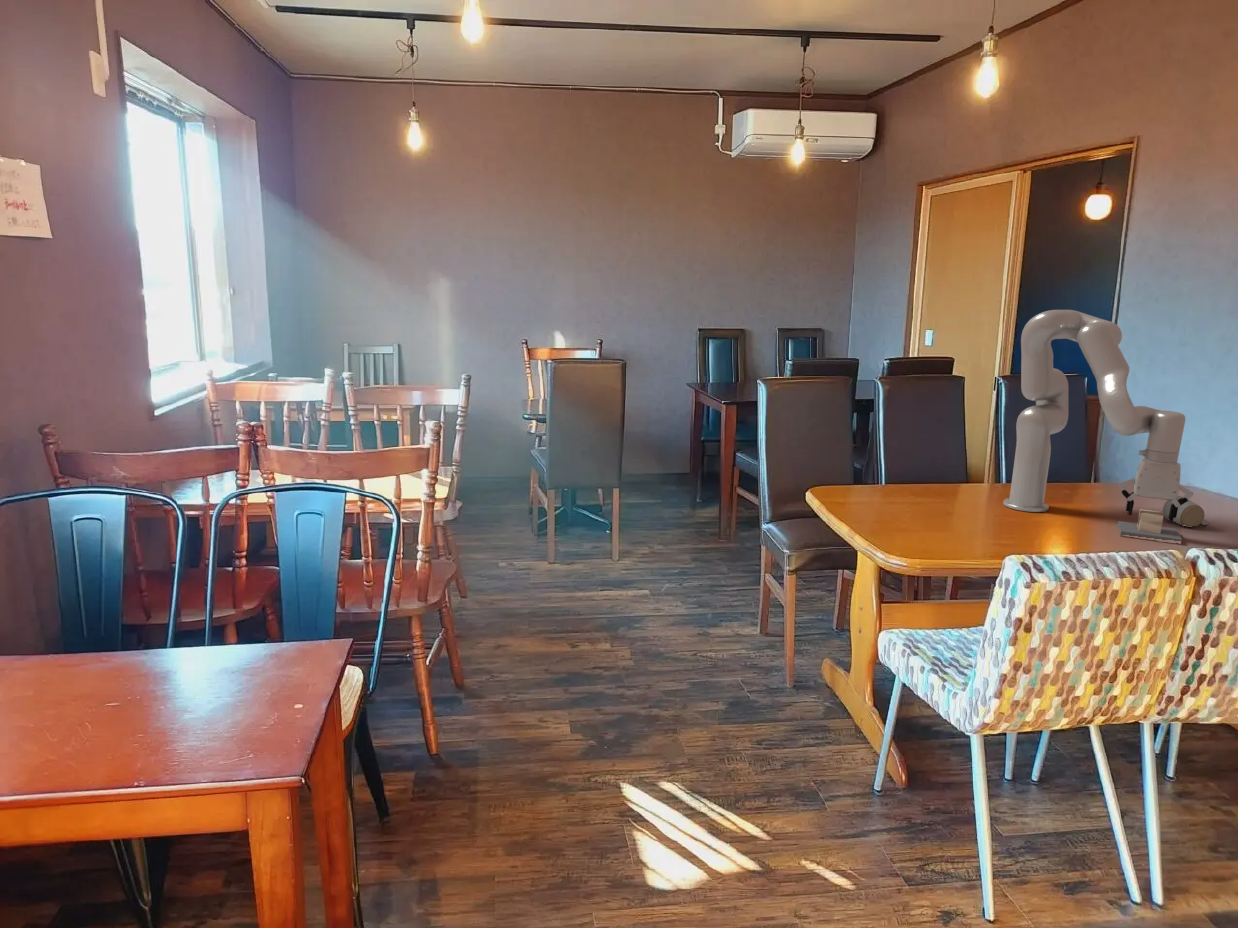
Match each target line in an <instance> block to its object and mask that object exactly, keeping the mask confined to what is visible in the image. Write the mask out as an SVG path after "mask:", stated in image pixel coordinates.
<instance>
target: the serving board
mask: <svg viewBox="0 0 1238 928" xmlns="http://www.w3.org/2000/svg"><path fill="white" fill-rule="evenodd" d="M1137 524H1138V522H1137V523H1135V522H1128V521H1120V520H1118V521H1117V529H1118V528H1119V530H1118V532H1119V531H1120V534H1119V536H1120V535H1129V536H1138V537H1146V538H1154V539H1162V540H1174V541H1183V540H1182V537H1181V535H1180V533H1179V531H1178V529H1177V528H1173V527H1165V526H1162V527H1161V533H1160V534H1158V533H1150V532H1143V531H1139V530H1138V527H1137Z"/></svg>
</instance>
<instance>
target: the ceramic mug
mask: <svg viewBox="0 0 1238 928" xmlns="http://www.w3.org/2000/svg"><path fill="white" fill-rule="evenodd" d="M1182 497H1183V496H1181V495H1178V496H1177V498H1176V499H1177V500H1179V499H1180V498H1182ZM1172 504H1173V503H1172V501H1171V500H1165V502H1164V505H1163V507H1162V514H1163V517H1164V518H1165V519H1166V518H1167V519H1166V520H1168V519H1169V512H1170V507H1171V505H1172ZM1204 518H1205V511H1204V509H1203V508H1202V507H1201V506H1200V505H1199V504H1197V503H1195V502H1193V501H1191V500H1190V499H1189V500H1188V501H1187V502H1186V503H1184V504H1182V505H1181V506H1180V507H1178V511H1177V516H1176V518H1173V521H1174V522H1176V523H1175V524H1177V523H1179V524H1181V525H1186V526H1196V527H1198V526H1199V525H1200V524H1201V525H1202V526H1204V525H1206V524H1209V523H1210V521H1208V520H1206V519H1204ZM1174 522H1173V523H1174ZM1179 524H1178V525H1179ZM1181 525H1180V526H1181ZM1197 525H1198V526H1197Z"/></svg>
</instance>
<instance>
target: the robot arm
mask: <svg viewBox="0 0 1238 928" xmlns="http://www.w3.org/2000/svg"><path fill="white" fill-rule="evenodd" d="M1020 336H1021V337H1020V347H1021V348H1020V349H1021V351H1020V352H1021V364H1020V369H1021V370H1020V371H1021V372H1020V373H1021V375H1020V376H1021V377H1020V379H1021V380H1020V381H1021V382H1020V383H1021V384H1020V388H1021V394H1022V395H1023V397H1024V398H1025V399H1027V400H1029V401H1033V402H1035V405H1032V406H1029V407H1027V408H1025V409H1023V410H1022V411H1021V412H1020V414H1019V415H1018V417H1017V420H1016V424H1015V425H1016V426H1015V427H1016V444H1015V454H1014V461H1013V469H1012V477H1011V483H1010V484H1011V485H1010V492H1009V497H1008V498H1005V499H1003V506H1004V507H1007V508H1009V509H1013V510H1017V511H1021V512H1028V513H1029V512H1030V513H1031V512H1032V513H1042V512H1047V511H1049V507H1050V506H1049V504H1047V503H1046V502H1045V498H1046V497H1045V495H1046V491H1047V489H1046V488H1047V482H1048V481H1047V480H1048V475H1049V468H1050V459H1051V452H1052V451H1051V450H1052V445H1051V435H1055V434H1056V433H1057V434H1058V433H1060V432H1061V431H1062V430H1063V429H1065V427H1066V426H1067V424H1068V420H1069V381H1068V379H1067V377H1066V374H1064V372H1063V371H1062V370H1060V369H1058V368H1054V351H1053V348H1052V341H1053V340H1063V339H1064V340H1065V339H1067V340H1070V341H1073V342H1075V343H1078V344H1077V345H1079V348H1080V349H1081V352H1082V354H1083V356H1084V358H1085V360H1086V362H1087V364H1088V365H1089V368H1090V369H1091V372H1092V374H1093V376H1094V377H1095V380H1096V389H1097V393H1098V394H1097V395H1098V400H1099V404H1100V407H1101V409H1102V411H1103V413H1104V415H1105V417H1106V420H1107V421H1108V423H1109V425H1110V427H1111V428H1112V430H1114V431H1115V432H1116V433H1117V434H1119V435H1121V436H1124V437H1125V436H1126V437H1128V436H1129V437H1130V436H1136V435H1137V434H1139V435H1140V434H1148V438H1147V442H1146V447H1145V448H1144V449H1140V450H1139V452H1138V456H1142V457H1144V458H1141V460H1140V462H1139V464H1138V467H1137V469H1136V474H1135V477H1134V478H1131V479H1128V480H1127V479H1126V480H1124V481H1121V482H1118V487H1119V489H1120V492H1121V494H1122V496H1124V497H1125V499H1126V500H1127V502H1126V505H1125V512H1127V514H1128V516H1131V515H1132V516H1133V509H1134V505H1135V501H1134V500H1135V499H1136V498H1138V497H1140V498H1149V499H1154V500H1155V499H1156V500H1163V501H1167V500H1171V501H1172V503H1173V504H1172V505H1171V507H1170V512H1169V520H1168V521H1170V522H1172V521H1173V518H1176V516H1177V511H1178V507H1180V506H1181V505H1182V504H1184V503H1186V502H1187V501H1188V500H1190V499H1191V498H1192V497H1193V495H1194V492H1193V491H1192V490H1190V489H1188V488H1187V487H1186V486H1184V485H1181V483H1180V482H1181V471H1182V470H1181V464H1180V462H1178V460H1179V455H1180V450H1181V444H1182V440H1183V435H1184V429H1185V425H1186V416H1185V414H1184V413H1182V412H1178V411H1171V410H1162V409H1161V410H1160V409H1155V408H1153V407H1148V406H1143V405H1136V406H1134V404H1133V402H1132V399H1131V397H1130V394H1129V391H1128V387H1127V380H1128V377H1129V373H1130V366H1129V363H1128V362H1127V360H1126V358H1125V356H1124V354H1123V352H1122V350H1121V348H1120V347H1119V345H1120V344H1121V342H1122V340H1123V332H1122V330H1121V328H1120V326H1118V325H1117V324H1116V323H1115V322H1113V321H1110V320H1106V319H1103V318H1099V317H1097V316H1094V315H1090V314H1087V313H1085V312H1081V311H1078V310H1073V309H1050V310H1046V311H1043V312H1040V313H1038V314H1036V315H1034V316H1033V317H1031V318H1030V319H1029V320H1028V321H1027V322H1026V324H1025V325H1024V327H1023V329H1022V331H1021V335H1020ZM1132 485H1133V486H1132ZM1128 486H1132V491H1131V492H1130V493H1129V492H1128V491H1127V489H1126V487H1128ZM1179 492H1182V493H1183V496H1182V498H1180V499H1179V500H1177V499H1176V498H1177V496H1179Z"/></svg>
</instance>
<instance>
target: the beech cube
mask: <svg viewBox="0 0 1238 928" xmlns="http://www.w3.org/2000/svg"><path fill="white" fill-rule="evenodd" d="M1163 519H1164V515H1163V511H1158V510H1151V509H1150V510H1149V509H1142V508H1139V513H1138V520H1137V527H1138V530H1139V531H1143V532H1150V533H1158V534H1160V533H1161V527H1163V522H1164V521H1163Z"/></svg>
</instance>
